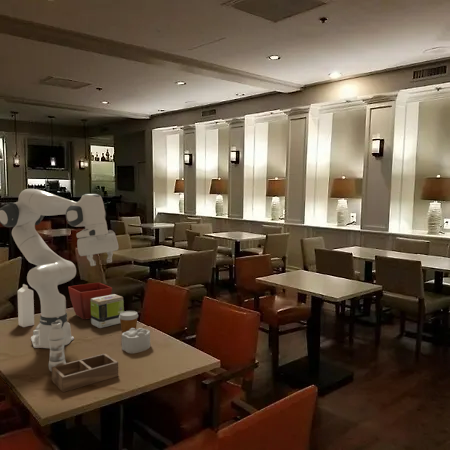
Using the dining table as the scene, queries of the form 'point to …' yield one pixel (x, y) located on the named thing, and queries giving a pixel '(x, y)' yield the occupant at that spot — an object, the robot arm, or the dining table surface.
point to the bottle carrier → (84, 372)
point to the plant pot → (86, 297)
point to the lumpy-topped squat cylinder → (136, 340)
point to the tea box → (106, 310)
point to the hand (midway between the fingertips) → (101, 264)
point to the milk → (25, 306)
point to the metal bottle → (56, 345)
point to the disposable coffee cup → (128, 320)
